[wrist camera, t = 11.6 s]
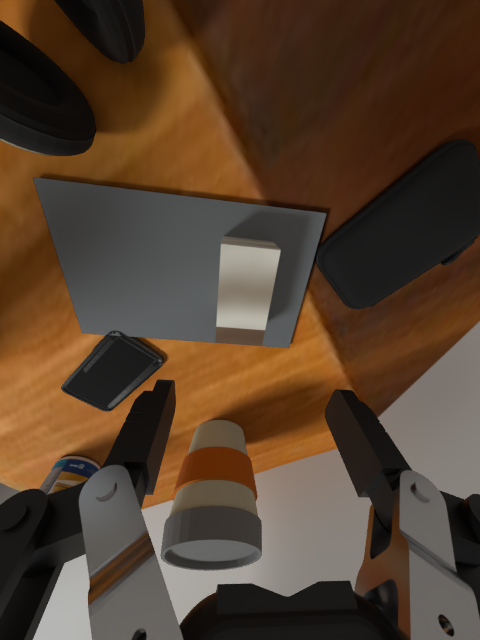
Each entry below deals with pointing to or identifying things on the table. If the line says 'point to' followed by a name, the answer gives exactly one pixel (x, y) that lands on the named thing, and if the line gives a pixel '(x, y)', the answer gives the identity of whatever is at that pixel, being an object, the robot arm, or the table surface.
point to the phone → (112, 371)
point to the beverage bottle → (69, 473)
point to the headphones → (61, 78)
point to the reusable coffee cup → (214, 504)
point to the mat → (168, 258)
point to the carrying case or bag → (406, 228)
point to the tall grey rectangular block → (245, 289)
